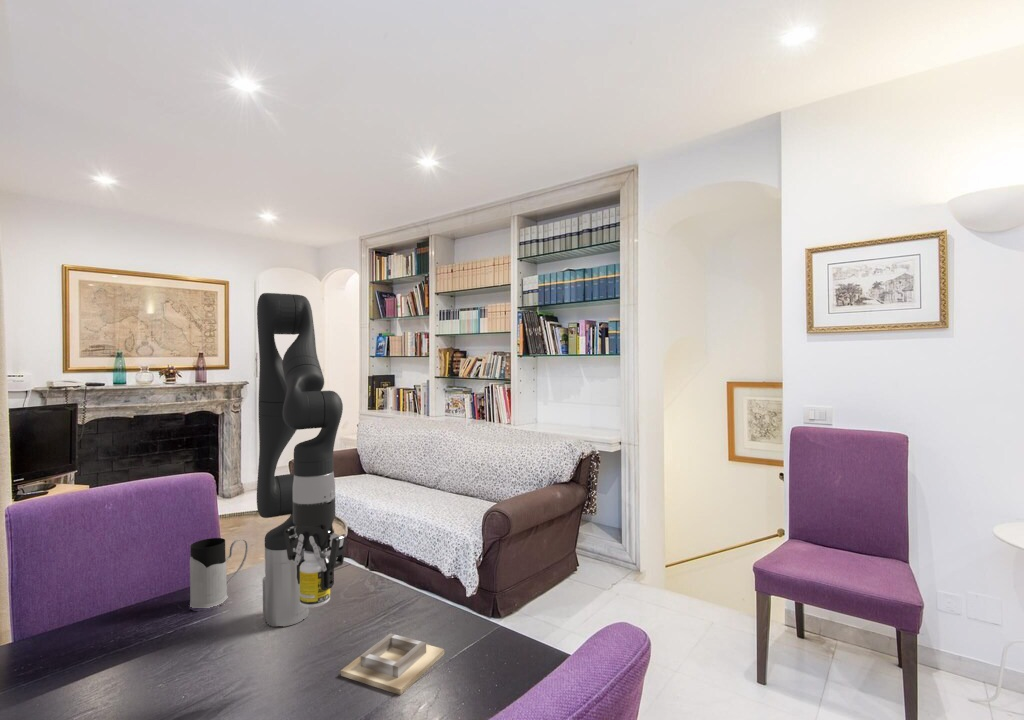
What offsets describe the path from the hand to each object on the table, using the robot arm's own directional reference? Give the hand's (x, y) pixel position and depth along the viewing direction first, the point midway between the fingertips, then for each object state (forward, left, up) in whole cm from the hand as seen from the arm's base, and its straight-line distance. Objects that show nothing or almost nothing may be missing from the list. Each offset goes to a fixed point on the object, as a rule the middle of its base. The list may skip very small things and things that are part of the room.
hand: (315, 585), depth 97 cm
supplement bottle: (0, 0, -3) cm, 3 cm away
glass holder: (-48, +14, -17) cm, 53 cm away
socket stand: (+11, +9, -17) cm, 22 cm away
